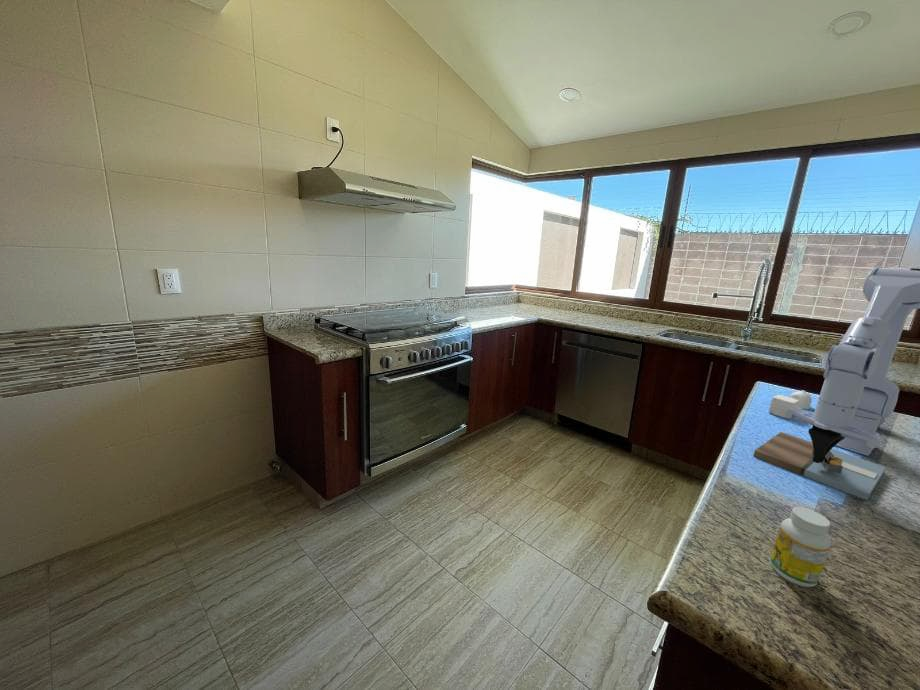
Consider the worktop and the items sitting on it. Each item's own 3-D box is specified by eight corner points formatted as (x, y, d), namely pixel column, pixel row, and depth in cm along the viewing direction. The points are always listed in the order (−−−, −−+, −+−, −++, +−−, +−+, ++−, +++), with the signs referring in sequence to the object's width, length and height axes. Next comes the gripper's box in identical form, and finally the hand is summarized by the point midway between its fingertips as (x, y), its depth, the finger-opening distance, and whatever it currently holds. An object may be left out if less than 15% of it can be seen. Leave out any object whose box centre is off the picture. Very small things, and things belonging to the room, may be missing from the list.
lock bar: (810, 451, 87) (814, 439, 86) (824, 454, 86) (828, 442, 85) (825, 473, 78) (830, 459, 77) (840, 476, 77) (845, 462, 76)
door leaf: (826, 453, 90) (828, 446, 90) (883, 473, 83) (886, 466, 82) (803, 475, 80) (805, 468, 80) (866, 500, 73) (869, 493, 72)
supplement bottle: (818, 595, 51) (839, 536, 49) (768, 573, 54) (786, 516, 52) (815, 571, 55) (835, 515, 53) (769, 551, 58) (786, 498, 56)
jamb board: (779, 437, 97) (781, 431, 97) (826, 453, 90) (828, 447, 90) (753, 455, 87) (755, 449, 87) (803, 475, 80) (805, 469, 80)
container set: (789, 420, 108) (794, 403, 107) (767, 413, 113) (772, 396, 111) (812, 407, 119) (817, 391, 118) (791, 401, 123) (796, 386, 122)
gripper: (785, 391, 82) (768, 447, 85) (875, 420, 69) (852, 485, 72) (803, 388, 84) (787, 442, 88) (894, 415, 72) (871, 478, 75)
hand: (818, 461), depth 80 cm, fingers closed, pressing on lock bar
